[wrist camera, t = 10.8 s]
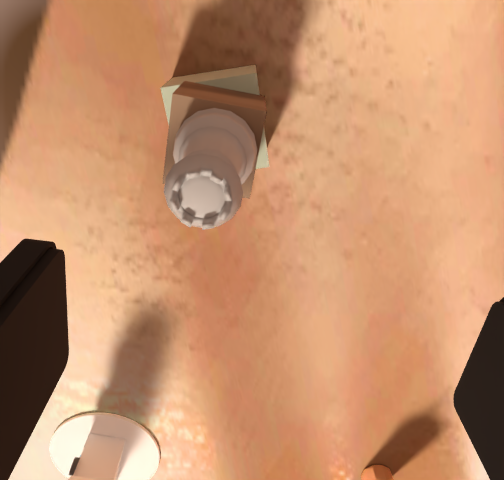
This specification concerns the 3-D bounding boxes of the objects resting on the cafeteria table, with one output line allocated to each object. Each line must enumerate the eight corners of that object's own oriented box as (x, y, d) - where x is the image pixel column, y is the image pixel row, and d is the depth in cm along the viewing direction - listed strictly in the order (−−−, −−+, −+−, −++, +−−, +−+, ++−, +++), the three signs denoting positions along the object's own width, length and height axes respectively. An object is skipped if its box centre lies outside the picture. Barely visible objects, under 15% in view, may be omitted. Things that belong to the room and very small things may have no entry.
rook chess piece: (172, 106, 25) (139, 144, 18) (257, 106, 25) (258, 145, 18) (178, 186, 27) (149, 250, 20) (257, 186, 27) (257, 251, 20)
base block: (172, 77, 34) (160, 87, 30) (255, 64, 34) (256, 72, 29) (189, 158, 37) (180, 179, 32) (266, 147, 36) (269, 166, 32)
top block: (184, 80, 29) (172, 93, 25) (264, 96, 30) (266, 111, 25) (175, 158, 32) (162, 183, 27) (250, 172, 32) (249, 198, 27)
